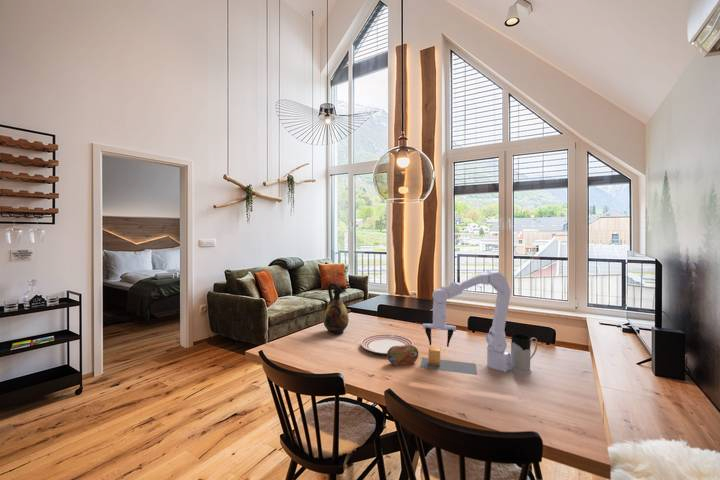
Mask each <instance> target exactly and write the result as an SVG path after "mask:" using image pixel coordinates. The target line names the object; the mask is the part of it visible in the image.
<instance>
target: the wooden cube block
mask: <svg viewBox="0 0 720 480" xmlns="http://www.w3.org/2000/svg"><path fill="white" fill-rule="evenodd" d="M441 353H442V352H441V347H437V346H432V345H429V348H428V356H427V358H428V365H435V366H440V360H441Z"/></svg>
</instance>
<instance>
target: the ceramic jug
mask: <svg viewBox="0 0 720 480" xmlns="http://www.w3.org/2000/svg"><path fill="white" fill-rule="evenodd" d="M332 287H334V289H333V290H332ZM327 289H328V290H327V292H328V297H329V303H328V306H327V307H326V309H325V312H324V315H323V318H322V319H323V321H322V322H323V325H324V327H325V328H326V330H327V333H328V334H329V335H332V336H339V335H342V334H344V331H345V330H346V328H347V327H348V325H349V322H350V318H349V312H348V309H347V308H346V306H345V304H344V302H343V301H342V299H341V296H340V295H341V294H344V293H346V292H347V290H346V288H345V287H344V286H343V285H342V286H339V284H338V283H336V282H331V283H329V285H328V287H327Z"/></svg>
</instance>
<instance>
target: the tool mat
mask: <svg viewBox="0 0 720 480" xmlns="http://www.w3.org/2000/svg"><path fill="white" fill-rule="evenodd" d="M419 368H420V369H427V370H436V371H442V372H452V373H461V374H467V375H469V374H470V375H474V376H477V375H478V369H477V364H476V363H473V362H465V361H457V360H456V361H455V360H450V359H448V360H447V359H440V366H435V365H428V357H421V360H420V365H419Z"/></svg>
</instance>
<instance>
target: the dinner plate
mask: <svg viewBox="0 0 720 480" xmlns="http://www.w3.org/2000/svg"><path fill="white" fill-rule="evenodd" d="M360 344H361V347H362V348H364V350H367V351H370V352H373V353H376V354H381V355H387V352H388V350H389V349H390V348H391V347H393V346H400V345H412V346H414V342H413V341H412V340H411V339H410V338H408V337H405V336H402V335H399V334H393V333H391V334H390V333H380V334H373V335H370V336H366V337H365V338H363V339H362V340H361V342H360Z"/></svg>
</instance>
